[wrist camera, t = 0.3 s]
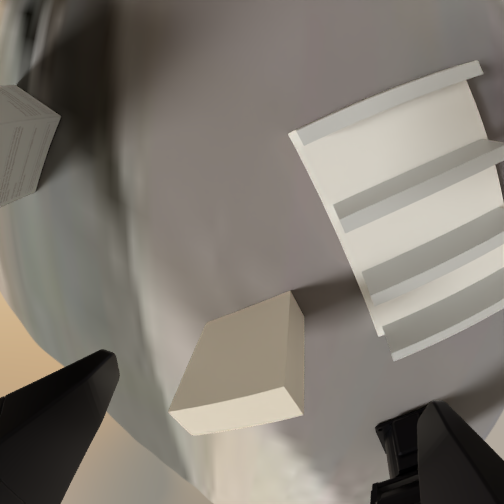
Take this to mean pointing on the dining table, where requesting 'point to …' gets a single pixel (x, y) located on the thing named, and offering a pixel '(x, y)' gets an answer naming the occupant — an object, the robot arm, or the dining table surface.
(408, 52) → the dining table surface
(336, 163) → the rack
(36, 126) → the supplement box
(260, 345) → the cream rectangular tile
